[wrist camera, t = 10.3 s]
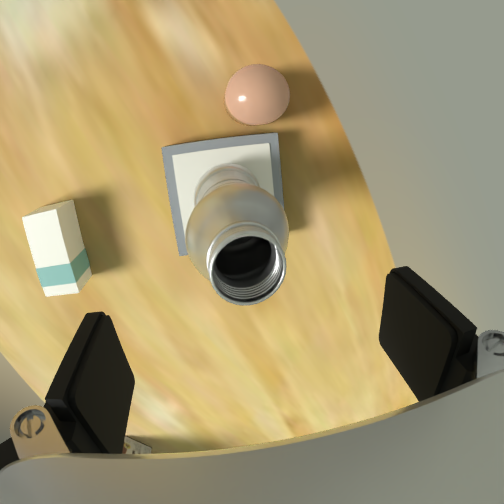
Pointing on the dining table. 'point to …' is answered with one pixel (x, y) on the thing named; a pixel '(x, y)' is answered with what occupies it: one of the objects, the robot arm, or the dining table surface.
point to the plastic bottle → (237, 235)
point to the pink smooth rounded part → (256, 95)
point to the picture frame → (208, 156)
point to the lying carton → (58, 248)
